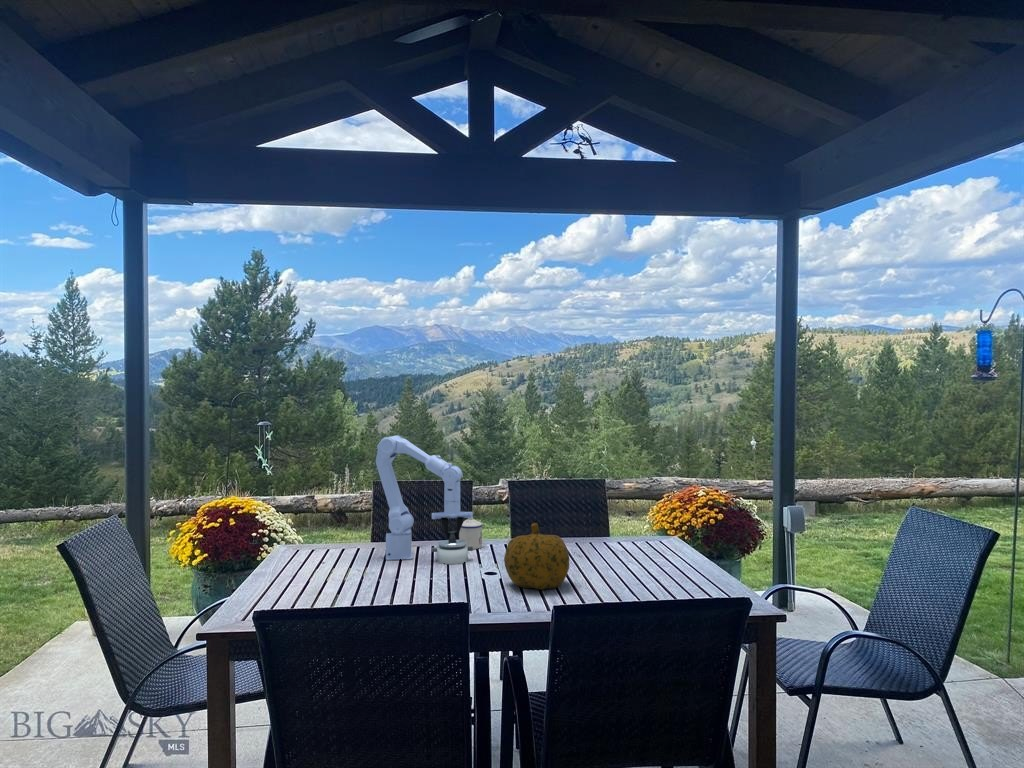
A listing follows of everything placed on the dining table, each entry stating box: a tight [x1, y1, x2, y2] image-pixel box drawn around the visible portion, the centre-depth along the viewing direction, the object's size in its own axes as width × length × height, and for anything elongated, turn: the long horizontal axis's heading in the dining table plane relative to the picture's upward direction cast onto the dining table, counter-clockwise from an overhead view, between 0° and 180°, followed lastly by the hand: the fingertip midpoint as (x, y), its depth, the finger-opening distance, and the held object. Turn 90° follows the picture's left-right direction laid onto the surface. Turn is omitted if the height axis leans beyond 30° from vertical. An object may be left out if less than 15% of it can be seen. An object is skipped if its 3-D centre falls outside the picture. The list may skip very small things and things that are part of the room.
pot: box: [431, 545, 474, 565], centre depth 260 cm, size 15×11×5 cm
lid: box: [437, 531, 466, 547], centre depth 260 cm, size 10×10×4 cm
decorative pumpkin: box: [503, 522, 570, 591], centre depth 229 cm, size 20×21×20 cm
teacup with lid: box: [458, 517, 483, 550], centre depth 282 cm, size 12×9×12 cm
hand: (452, 538), depth 260 cm, fingers closed on lid, 3 cm apart
